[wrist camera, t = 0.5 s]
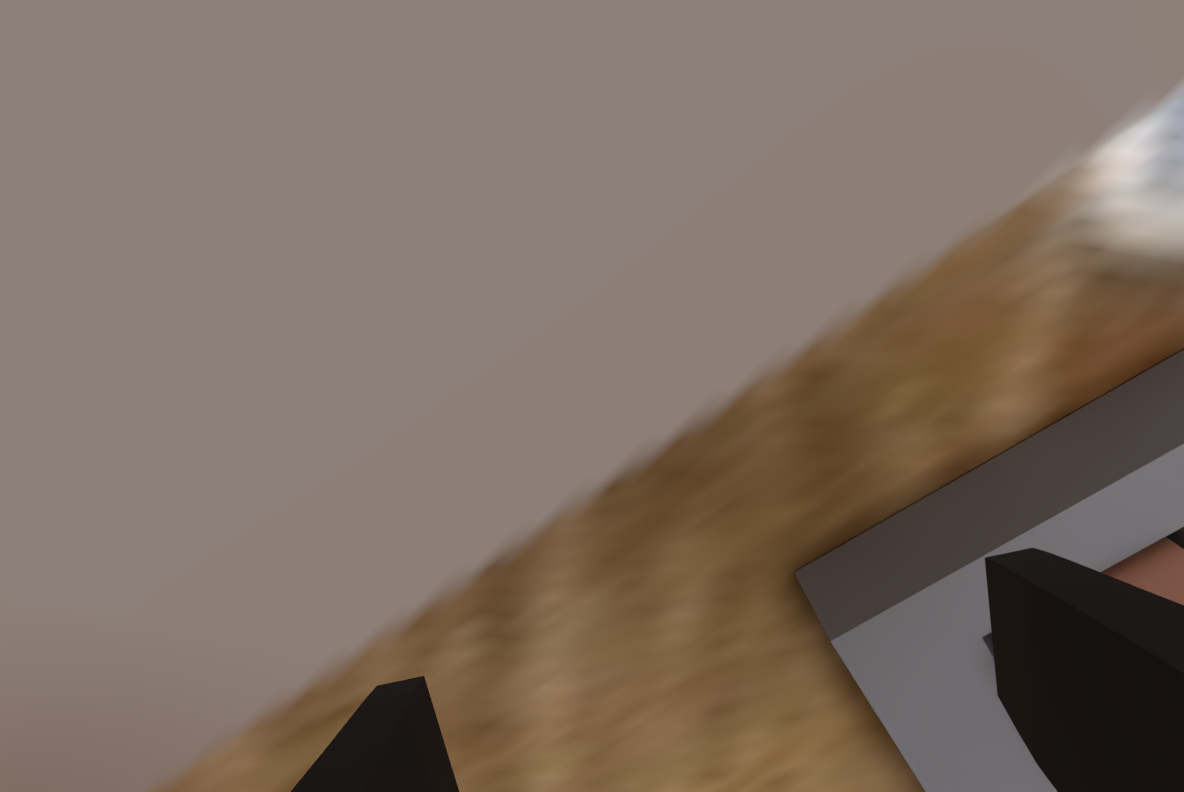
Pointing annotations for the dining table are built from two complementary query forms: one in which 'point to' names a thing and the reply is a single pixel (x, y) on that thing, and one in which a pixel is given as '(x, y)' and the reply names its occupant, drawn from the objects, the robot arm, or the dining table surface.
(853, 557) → the key panel
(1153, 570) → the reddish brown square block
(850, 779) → the dining table surface
